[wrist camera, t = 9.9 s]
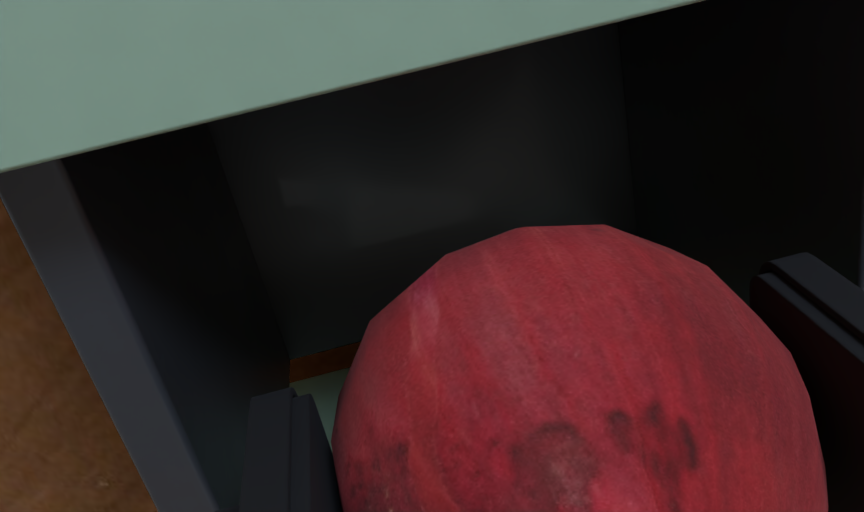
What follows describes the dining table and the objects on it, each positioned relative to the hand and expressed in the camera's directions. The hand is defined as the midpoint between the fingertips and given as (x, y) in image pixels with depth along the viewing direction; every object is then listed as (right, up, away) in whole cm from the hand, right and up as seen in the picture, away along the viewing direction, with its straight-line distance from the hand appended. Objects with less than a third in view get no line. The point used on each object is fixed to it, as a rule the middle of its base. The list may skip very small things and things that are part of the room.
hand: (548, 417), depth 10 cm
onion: (-1, +1, +3) cm, 3 cm away
